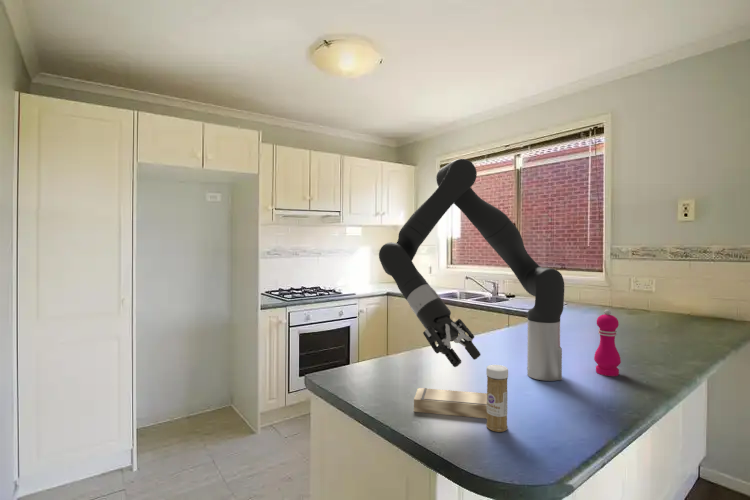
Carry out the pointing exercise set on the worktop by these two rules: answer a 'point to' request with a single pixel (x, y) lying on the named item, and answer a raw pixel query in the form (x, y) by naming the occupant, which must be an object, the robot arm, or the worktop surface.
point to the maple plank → (451, 402)
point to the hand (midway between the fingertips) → (468, 361)
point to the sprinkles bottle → (497, 397)
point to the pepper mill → (607, 346)
